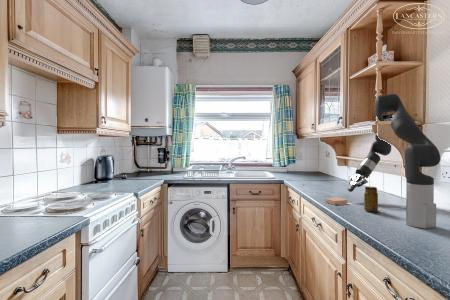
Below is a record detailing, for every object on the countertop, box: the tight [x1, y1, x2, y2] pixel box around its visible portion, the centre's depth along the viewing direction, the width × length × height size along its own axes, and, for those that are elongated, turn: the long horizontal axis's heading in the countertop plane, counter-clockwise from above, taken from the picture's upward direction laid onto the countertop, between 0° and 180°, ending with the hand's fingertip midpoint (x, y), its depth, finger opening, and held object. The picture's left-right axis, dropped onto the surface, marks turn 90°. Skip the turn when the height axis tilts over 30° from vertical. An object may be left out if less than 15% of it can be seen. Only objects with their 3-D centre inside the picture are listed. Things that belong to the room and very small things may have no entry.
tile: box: [324, 197, 348, 206], centre depth 154 cm, size 7×2×9 cm
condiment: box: [363, 186, 385, 215], centre depth 136 cm, size 7×8×12 cm
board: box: [338, 201, 353, 206], centre depth 155 cm, size 9×9×1 cm
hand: (349, 190), depth 157 cm, fingers closed
